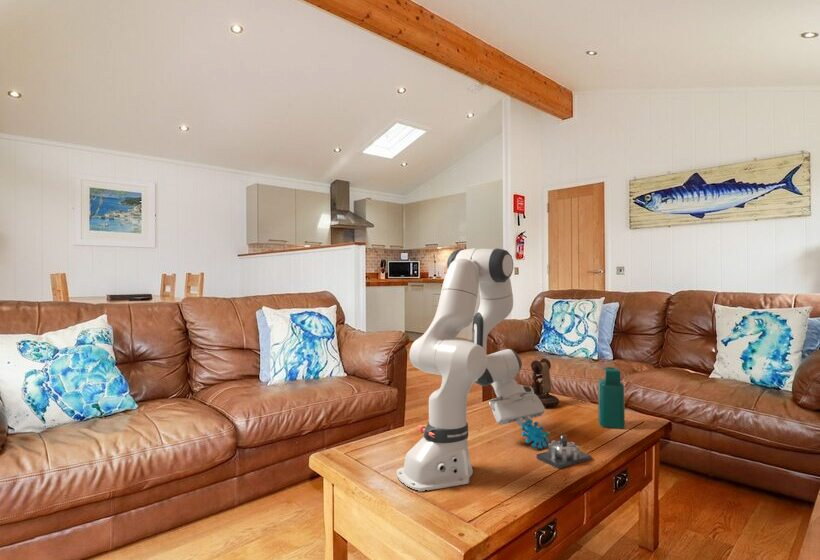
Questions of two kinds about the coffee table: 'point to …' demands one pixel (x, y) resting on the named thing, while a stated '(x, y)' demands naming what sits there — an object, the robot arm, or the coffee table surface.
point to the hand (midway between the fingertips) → (529, 430)
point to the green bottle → (611, 399)
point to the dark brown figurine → (543, 382)
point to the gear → (535, 434)
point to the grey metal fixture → (563, 453)
